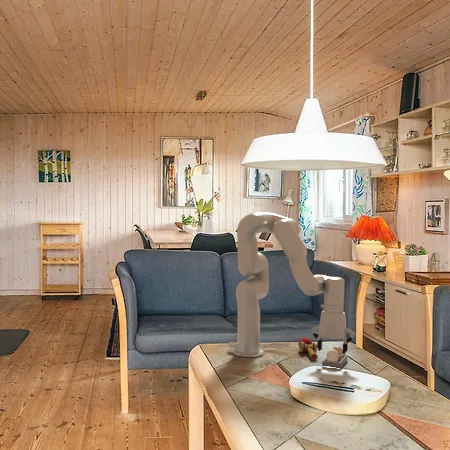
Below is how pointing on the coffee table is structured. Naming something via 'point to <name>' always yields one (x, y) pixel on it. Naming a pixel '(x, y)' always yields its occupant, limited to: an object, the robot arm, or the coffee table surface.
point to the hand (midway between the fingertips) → (332, 351)
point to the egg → (332, 355)
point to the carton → (341, 359)
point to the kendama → (308, 347)
